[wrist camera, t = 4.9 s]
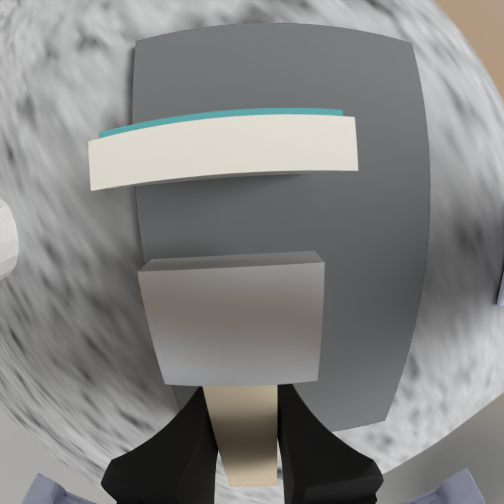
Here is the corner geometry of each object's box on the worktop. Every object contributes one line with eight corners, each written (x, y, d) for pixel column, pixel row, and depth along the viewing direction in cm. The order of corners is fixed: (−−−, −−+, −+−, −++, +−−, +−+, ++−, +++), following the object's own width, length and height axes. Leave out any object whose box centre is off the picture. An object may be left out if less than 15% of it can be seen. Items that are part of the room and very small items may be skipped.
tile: (304, 142, 11) (353, 108, 5) (305, 174, 11) (358, 170, 5) (163, 151, 11) (88, 133, 5) (165, 183, 11) (90, 190, 5)
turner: (292, 419, 15) (301, 483, 10) (213, 422, 15) (205, 485, 10) (295, 228, 12) (324, 262, 7) (181, 235, 12) (137, 271, 7)
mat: (406, 46, 10) (411, 43, 9) (382, 415, 16) (385, 420, 15) (140, 45, 10) (135, 41, 9) (190, 431, 16) (189, 437, 16)
